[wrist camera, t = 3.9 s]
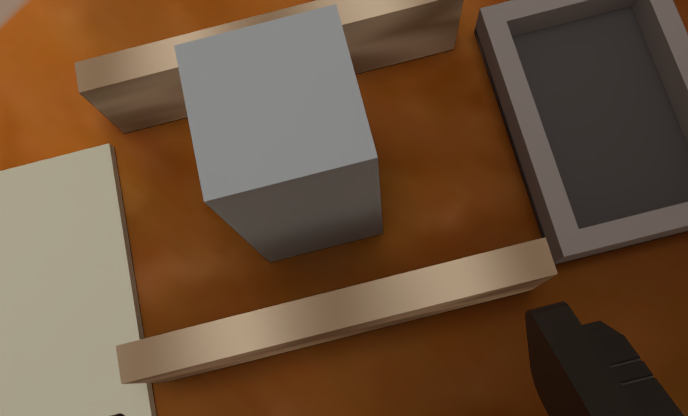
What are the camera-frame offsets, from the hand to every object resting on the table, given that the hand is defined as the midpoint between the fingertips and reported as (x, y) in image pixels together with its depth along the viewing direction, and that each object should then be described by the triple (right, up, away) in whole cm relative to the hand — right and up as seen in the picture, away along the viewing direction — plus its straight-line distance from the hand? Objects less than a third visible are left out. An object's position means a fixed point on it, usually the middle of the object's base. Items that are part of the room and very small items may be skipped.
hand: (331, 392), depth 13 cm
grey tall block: (-1, +4, +13) cm, 13 cm away
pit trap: (+10, +7, +13) cm, 18 cm away
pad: (-11, 0, +12) cm, 17 cm away
